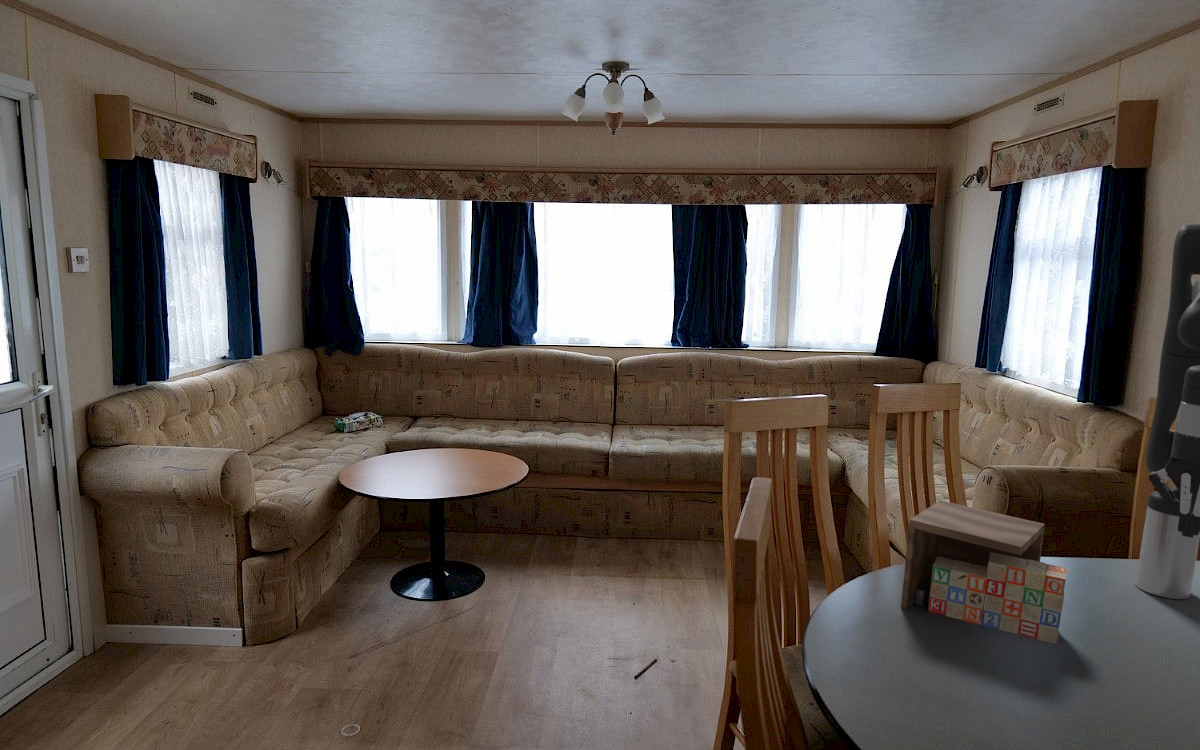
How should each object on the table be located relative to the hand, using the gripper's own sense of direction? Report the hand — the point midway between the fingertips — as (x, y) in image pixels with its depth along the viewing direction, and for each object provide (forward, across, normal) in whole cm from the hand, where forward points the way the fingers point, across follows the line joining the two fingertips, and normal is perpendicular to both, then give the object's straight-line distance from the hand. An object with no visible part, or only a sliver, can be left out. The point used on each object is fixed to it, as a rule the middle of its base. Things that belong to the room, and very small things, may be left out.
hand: (1187, 535), depth 125 cm
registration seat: (+23, +38, +2) cm, 45 cm away
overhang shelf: (+23, +30, +2) cm, 38 cm away
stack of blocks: (+23, +26, +4) cm, 35 cm away
